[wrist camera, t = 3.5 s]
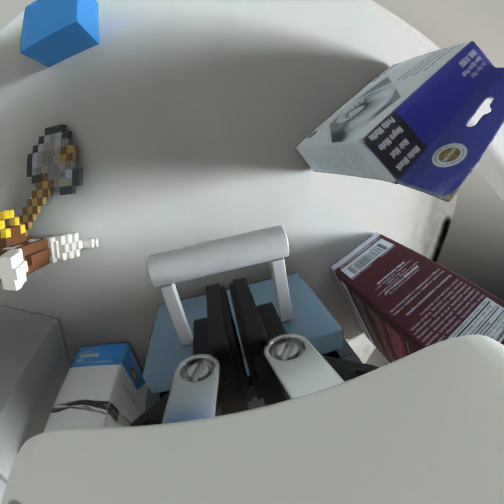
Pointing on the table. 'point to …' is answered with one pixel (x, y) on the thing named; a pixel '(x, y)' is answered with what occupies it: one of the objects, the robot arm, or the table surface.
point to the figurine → (47, 177)
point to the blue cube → (59, 29)
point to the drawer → (230, 299)
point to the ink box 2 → (415, 123)
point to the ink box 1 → (100, 390)
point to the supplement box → (412, 299)
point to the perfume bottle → (27, 379)
